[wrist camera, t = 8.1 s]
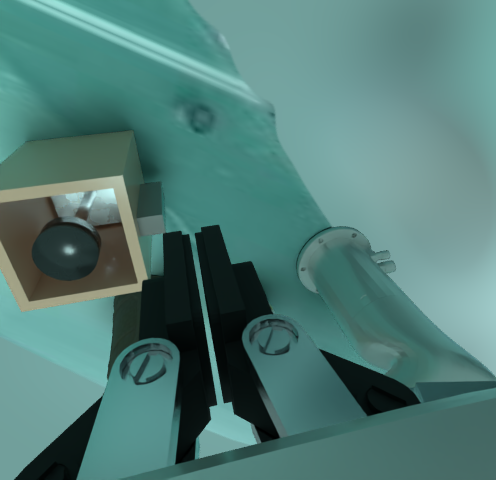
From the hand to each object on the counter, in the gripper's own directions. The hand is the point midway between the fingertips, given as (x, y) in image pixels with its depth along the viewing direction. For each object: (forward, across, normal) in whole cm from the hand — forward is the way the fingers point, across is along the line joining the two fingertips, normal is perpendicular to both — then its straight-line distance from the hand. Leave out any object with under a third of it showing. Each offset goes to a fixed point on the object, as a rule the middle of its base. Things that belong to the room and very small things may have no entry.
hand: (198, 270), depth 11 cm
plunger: (+35, +11, +10) cm, 38 cm away
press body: (+37, +10, +10) cm, 40 cm away
